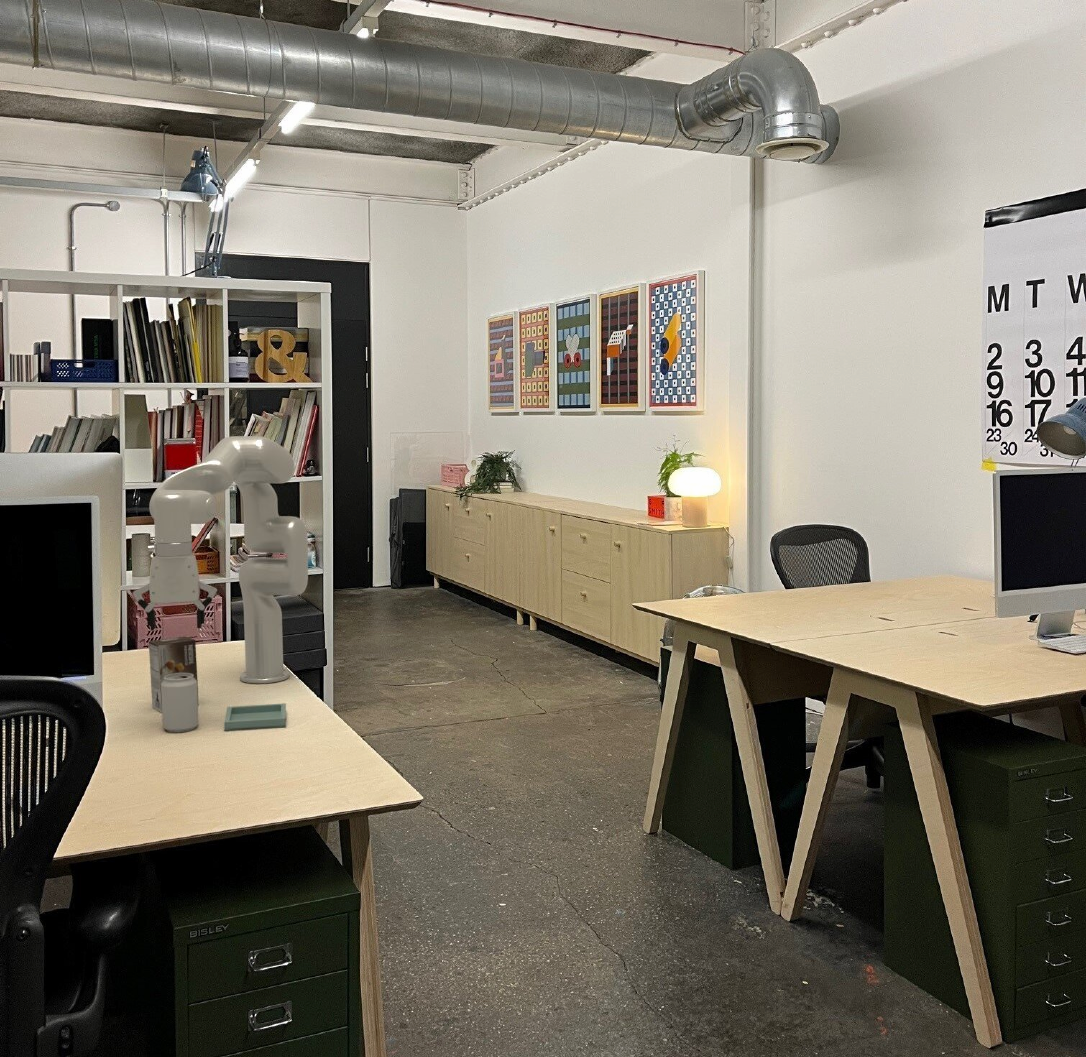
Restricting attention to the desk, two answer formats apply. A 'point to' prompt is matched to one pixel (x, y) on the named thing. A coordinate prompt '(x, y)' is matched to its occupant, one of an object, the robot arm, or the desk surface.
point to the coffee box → (170, 663)
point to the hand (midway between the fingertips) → (176, 628)
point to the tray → (255, 717)
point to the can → (179, 702)
